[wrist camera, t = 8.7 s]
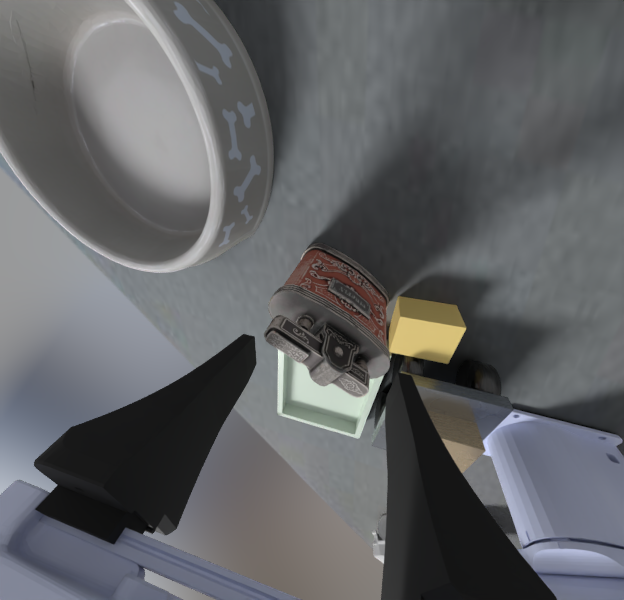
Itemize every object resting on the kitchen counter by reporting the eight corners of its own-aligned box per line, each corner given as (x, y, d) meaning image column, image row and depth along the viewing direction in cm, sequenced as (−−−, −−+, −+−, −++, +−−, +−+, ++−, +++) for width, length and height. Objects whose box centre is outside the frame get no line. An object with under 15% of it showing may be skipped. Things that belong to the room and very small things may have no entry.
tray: (390, 340, 22) (391, 356, 21) (360, 422, 30) (358, 438, 29) (285, 316, 24) (278, 329, 22) (282, 400, 32) (277, 414, 30)
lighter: (398, 293, 20) (408, 401, 11) (370, 317, 21) (361, 425, 13) (317, 233, 18) (265, 304, 10) (295, 264, 20) (237, 345, 12)
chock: (456, 304, 19) (466, 328, 17) (440, 338, 21) (448, 363, 19) (398, 294, 20) (400, 316, 17) (388, 328, 22) (389, 352, 19)
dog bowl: (317, 206, 18) (295, 228, 13) (164, 278, 26) (118, 306, 21) (157, -162, 11) (3, -366, 6) (14, 91, 19) (-99, 75, 14)
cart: (492, 355, 20) (532, 434, 15) (441, 424, 27) (456, 498, 21) (400, 334, 22) (406, 401, 16) (372, 405, 28) (369, 470, 22)
